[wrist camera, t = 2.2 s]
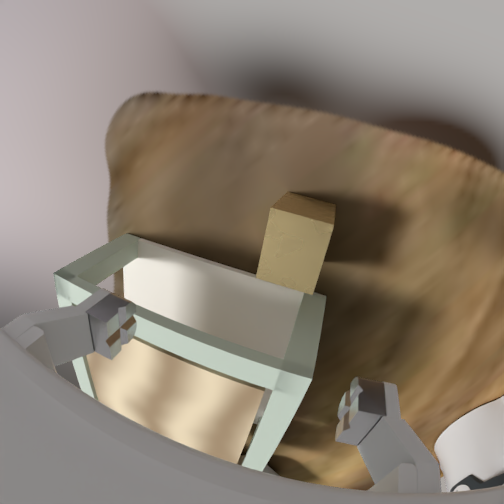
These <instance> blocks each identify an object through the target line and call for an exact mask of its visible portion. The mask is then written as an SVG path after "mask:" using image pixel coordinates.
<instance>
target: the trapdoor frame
mask: <svg viewBox="0 0 504 504" xmlns="http://www.w3.org/2000/svg"><path fill="white" fill-rule="evenodd" d="M121 268H123V272H124V298H125V299H127V300H130V301H132V302H133V303H135V304H136V313H135V314H134V315H133V316H134V318H135V320H136V321H137V328H136V332H135V334H134V336H137V337H139V338H141V339H143V340H145V341H147V342H149V343H151V344H154V345H156V346H158V347H160V348H163V349H165V350H167V351H169V352H172V353H174V354H176V355H179V356H181V357H183V358H186V359H188V360H191V361H193V362H196V363H198V364H201V365H203V366H206V367H208V368H211V369H213V370H216V371H219V372H221V373H224V374H227V375H230V376H232V377H235V378H238V379H241V380H244V381H247V382H249V383H252V384H255V385H258V386H261V387H265V388H266V389H265V392H264V394H263V397H262V400H261V403H260V405H259V408H258V411H257V414H256V416H255V419H254V422H253V423H254V424H257V427H256V429H255V432H254V435H253V437H252V440H251V442H250V445H249V447H248V450H247V452H246V455H245V457H244V460H243V462H242V465H241V466H244V467H248V468H251V469H255V470H258V471H263V469H264V468H265V466H266V464H267V463H268V461H269V459H270V458H271V456H272V454H273V453H274V451H275V449H276V447H277V446H278V444H279V442H280V440H281V439H282V437H283V435H284V433H285V431H286V430H287V428H288V426H289V424H290V422H291V420H292V418H293V417H294V415H295V413H296V411H297V409H298V407H299V405H300V403H301V401H302V399H303V397H304V395H305V393H306V391H307V389H308V387H309V385H310V383H311V381H312V378H313V373H314V368H315V363H316V357H317V352H318V346H319V341H320V335H321V329H322V323H323V316H324V310H325V303H326V296H325V295H321V294H318V293H315V292H313V295H310V294H307V293H304V292H300V291H297V290H294V289H290V288H287V287H284V286H281V285H277V284H274V283H271V282H267V281H264V280H261V279H258V278H256V275H255V274H252V273H249V272H245V271H242V270H239V269H236V268H232V267H229V266H226V265H223V264H220V263H217V262H213V261H210V260H207V259H204V258H201V257H198V256H195V255H191V254H188V253H185V252H182V251H179V250H176V249H173V248H170V247H167V246H164V245H161V244H157V243H154V242H151V241H148V240H145V239H142V238H139V237H136V236H133V235H130V234H127V233H126V234H124V235H122V236H121V237H119V238H117V239H115V240H113V241H111V242H109V243H107V244H105V245H103V246H102V247H100V248H98V249H96V250H94V251H92V252H90V253H89V254H87V255H85V256H83V257H81V258H79V259H77V260H76V261H74V262H72V263H70V264H69V265H67V266H65V267H63V268H61V269H60V270H58V271H56V272H55V273H54V281H55V287H56V293H57V298H58V303H59V308H60V307H66V306H72V305H73V306H75V307H76V306H77V305H78V304H80V303H81V302H82V301H84V300H85V299H87V298H88V297H89V296H91V295H92V294H94V293H95V292H96V291H98V290H99V289H101V288H100V287H97V286H95V285H97V284H98V283H100V282H101V281H103V280H104V279H106V278H107V277H108V276H110V275H112V274H113V273H115V272H116V271H118V270H119V269H121ZM72 361H73V365H74V368H75V371H76V374H77V378H78V381H79V384H80V387H81V390H82V391H83V392H85V393H86V394H88V395H90V396H91V397H93V398H94V399H96V400H98V397H97V394H96V390H95V387H94V383H93V380H92V376H91V372H90V368H89V364H88V360H87V356H83V357H80V358H77V359H75V360H72ZM98 401H99V400H98Z"/></svg>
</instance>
